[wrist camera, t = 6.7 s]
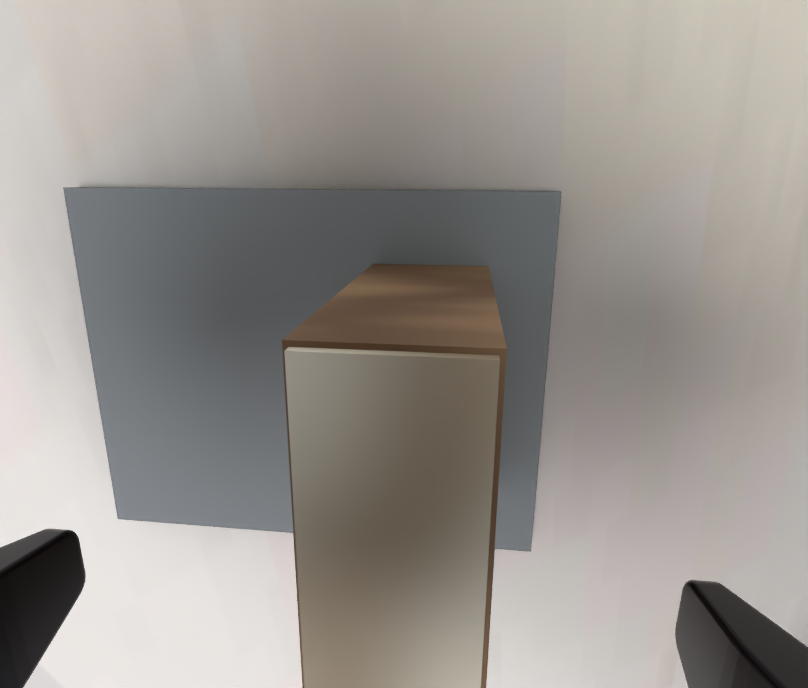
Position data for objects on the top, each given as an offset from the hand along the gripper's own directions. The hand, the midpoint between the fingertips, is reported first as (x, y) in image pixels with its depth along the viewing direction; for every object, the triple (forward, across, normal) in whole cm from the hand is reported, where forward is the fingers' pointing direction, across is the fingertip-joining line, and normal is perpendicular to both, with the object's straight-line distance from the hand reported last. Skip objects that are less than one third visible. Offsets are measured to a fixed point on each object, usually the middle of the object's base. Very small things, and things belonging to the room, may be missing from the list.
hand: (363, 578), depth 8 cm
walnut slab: (+8, 0, 0) cm, 9 cm away
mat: (+9, +3, 0) cm, 10 cm away
